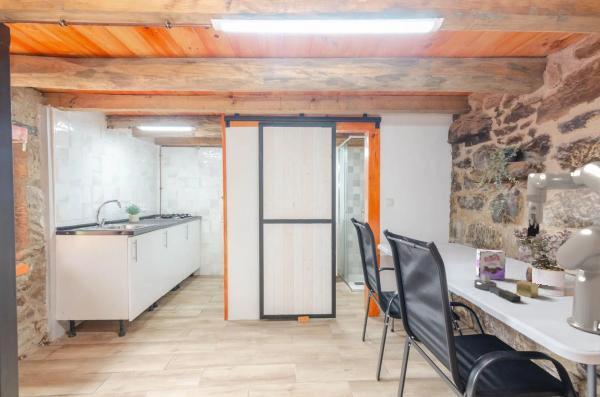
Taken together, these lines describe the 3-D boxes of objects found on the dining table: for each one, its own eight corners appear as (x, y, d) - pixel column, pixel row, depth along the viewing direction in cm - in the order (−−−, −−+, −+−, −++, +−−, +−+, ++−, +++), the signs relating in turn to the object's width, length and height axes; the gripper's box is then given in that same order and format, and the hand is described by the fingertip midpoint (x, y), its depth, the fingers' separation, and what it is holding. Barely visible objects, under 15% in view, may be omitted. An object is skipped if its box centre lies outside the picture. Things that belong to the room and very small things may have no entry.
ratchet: (525, 302, 139) (526, 287, 139) (506, 302, 138) (506, 287, 138) (487, 284, 164) (487, 272, 164) (470, 284, 163) (470, 272, 163)
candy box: (478, 278, 176) (479, 250, 175) (475, 275, 182) (476, 248, 181) (504, 280, 173) (506, 252, 172) (500, 277, 178) (502, 250, 178)
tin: (525, 279, 175) (525, 265, 174) (531, 280, 174) (532, 266, 173) (535, 287, 160) (536, 272, 160) (542, 288, 159) (543, 273, 159)
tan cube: (537, 296, 148) (538, 284, 147) (530, 298, 145) (531, 285, 145) (523, 291, 153) (524, 280, 153) (516, 293, 151) (516, 281, 150)
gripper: (543, 200, 132) (540, 239, 133) (548, 199, 144) (545, 234, 145) (523, 199, 137) (520, 236, 138) (529, 198, 149) (526, 231, 150)
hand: (533, 235), depth 142 cm, fingers open, 9 cm apart
